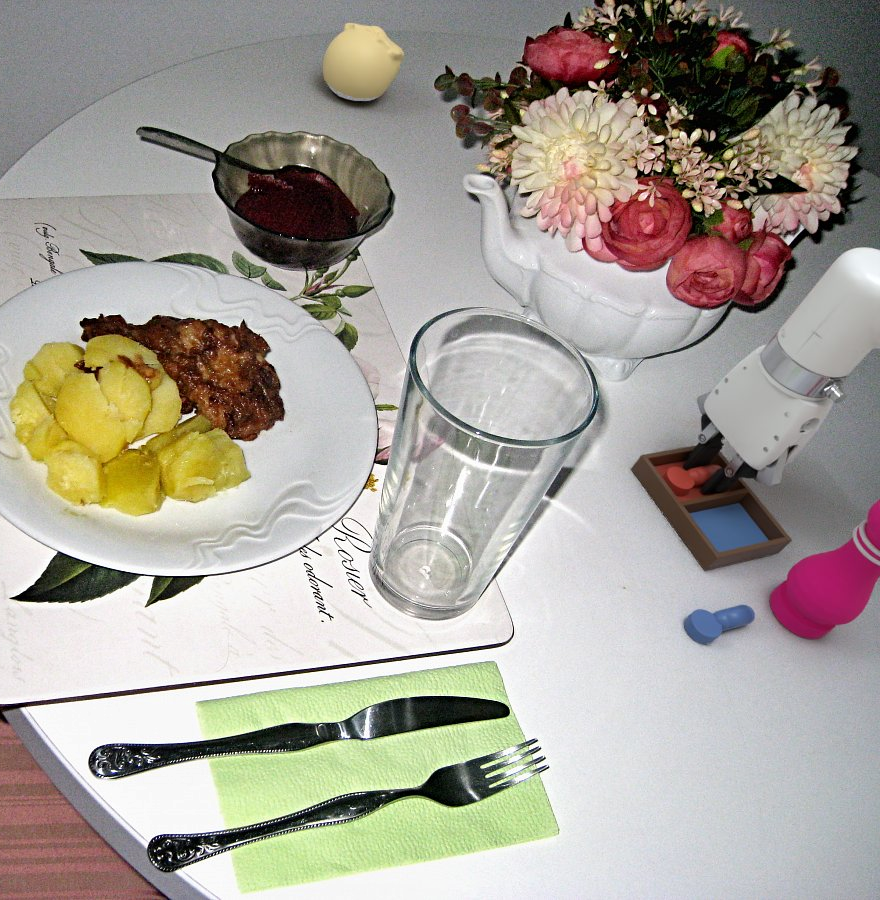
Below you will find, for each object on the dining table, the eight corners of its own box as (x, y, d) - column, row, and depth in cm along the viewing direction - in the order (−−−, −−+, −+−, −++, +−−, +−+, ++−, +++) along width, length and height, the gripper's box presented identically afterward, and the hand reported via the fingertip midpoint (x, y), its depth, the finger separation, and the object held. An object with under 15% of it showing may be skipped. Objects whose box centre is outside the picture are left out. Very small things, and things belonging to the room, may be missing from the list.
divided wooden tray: (701, 455, 107) (713, 442, 105) (778, 553, 99) (792, 540, 97) (630, 468, 103) (641, 454, 101) (704, 571, 95) (717, 558, 93)
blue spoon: (735, 604, 93) (746, 594, 91) (755, 631, 91) (766, 621, 89) (677, 619, 90) (688, 609, 88) (696, 647, 88) (707, 637, 87)
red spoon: (707, 466, 105) (716, 455, 103) (724, 488, 103) (733, 477, 101) (655, 476, 102) (664, 465, 100) (671, 498, 100) (681, 487, 98)
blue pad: (738, 503, 102) (739, 502, 102) (772, 546, 98) (773, 545, 98) (676, 516, 99) (677, 515, 98) (709, 561, 95) (709, 560, 95)
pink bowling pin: (846, 637, 92) (997, 525, 78) (793, 649, 90) (939, 535, 75) (802, 578, 97) (938, 461, 82) (750, 588, 94) (881, 469, 80)
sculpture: (399, 99, 151) (419, 36, 143) (357, 118, 144) (375, 53, 136) (348, 68, 155) (364, 5, 147) (304, 85, 148) (318, 20, 140)
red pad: (701, 461, 106) (712, 447, 104) (736, 505, 102) (749, 492, 100) (638, 472, 103) (648, 458, 101) (671, 519, 99) (683, 505, 97)
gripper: (886, 419, 86) (771, 530, 99) (776, 307, 95) (685, 422, 109) (831, 429, 83) (720, 542, 97) (724, 313, 92) (637, 430, 106)
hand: (703, 478), depth 103 cm, fingers closed
